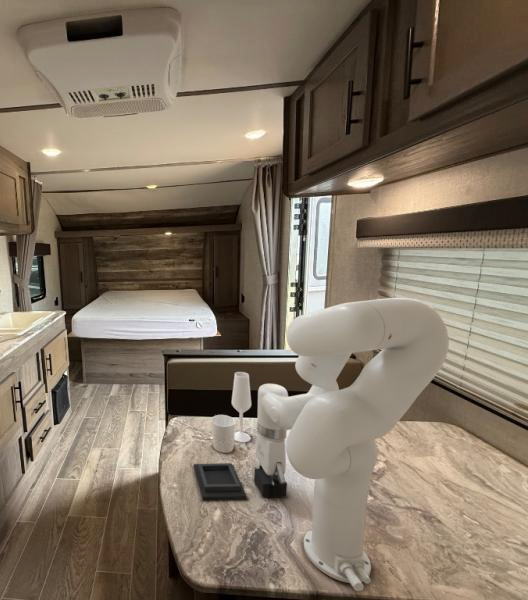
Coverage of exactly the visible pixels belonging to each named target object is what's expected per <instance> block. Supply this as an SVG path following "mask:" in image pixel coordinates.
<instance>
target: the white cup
mask: <svg viewBox="0 0 528 600" xmlns="http://www.w3.org/2000/svg"><path fill="white" fill-rule="evenodd" d="M211 431H212V432H211V435H212V436H211V437H212V446H213V449H215V450H216V452H219V453H223V454H228V453H231V452H233V450H234V446H235V440H234V437H235V432H236V420H235V418H234V417H232V416H229V415H227V414H217V415H216V414H215V415H214V416H212V417H211Z"/></svg>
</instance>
